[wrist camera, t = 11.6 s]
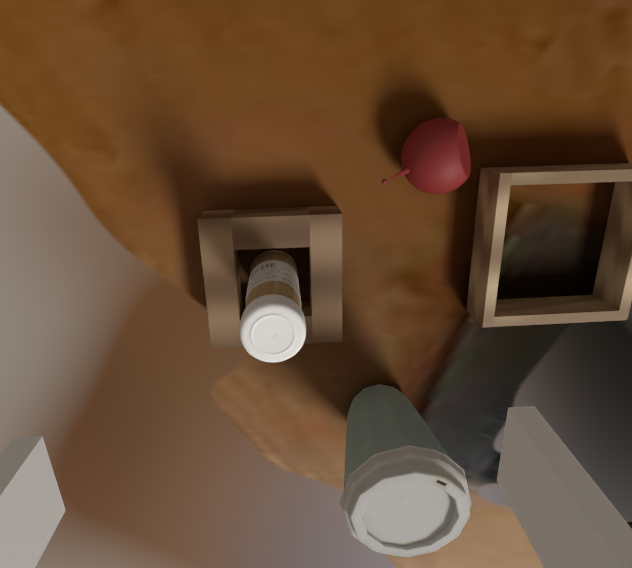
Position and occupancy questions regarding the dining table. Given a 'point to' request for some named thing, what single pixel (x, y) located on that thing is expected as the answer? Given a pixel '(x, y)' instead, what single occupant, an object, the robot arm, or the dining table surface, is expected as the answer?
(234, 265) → the collar block
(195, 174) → the dining table surface
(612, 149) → the dining table surface
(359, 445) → the disposable coffee cup
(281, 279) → the sprinkles bottle
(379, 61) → the dining table surface
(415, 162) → the fruit
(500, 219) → the open square frame
